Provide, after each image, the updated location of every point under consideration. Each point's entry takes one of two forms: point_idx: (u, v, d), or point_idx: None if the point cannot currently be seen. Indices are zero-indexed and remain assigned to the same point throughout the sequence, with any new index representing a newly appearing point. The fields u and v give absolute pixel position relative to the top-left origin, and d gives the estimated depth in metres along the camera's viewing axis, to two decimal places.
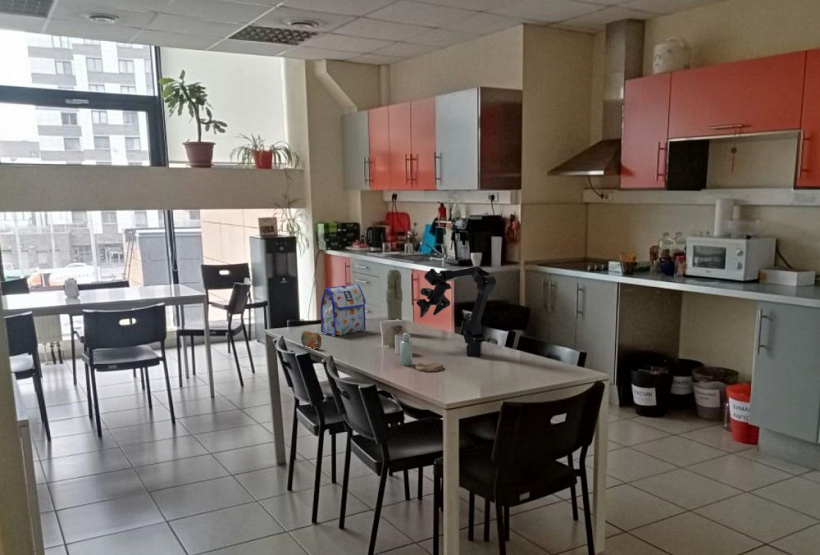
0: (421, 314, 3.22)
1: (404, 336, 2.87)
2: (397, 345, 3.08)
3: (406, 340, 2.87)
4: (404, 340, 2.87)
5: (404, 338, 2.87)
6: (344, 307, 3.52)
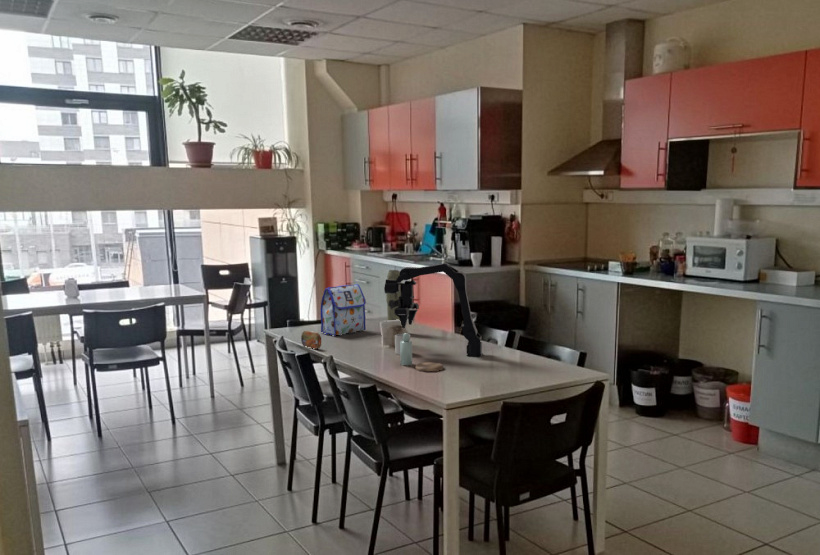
0: (403, 324, 3.04)
1: (404, 336, 2.87)
2: (397, 345, 3.08)
3: (406, 340, 2.87)
4: (404, 340, 2.87)
5: (404, 338, 2.87)
6: (344, 307, 3.52)
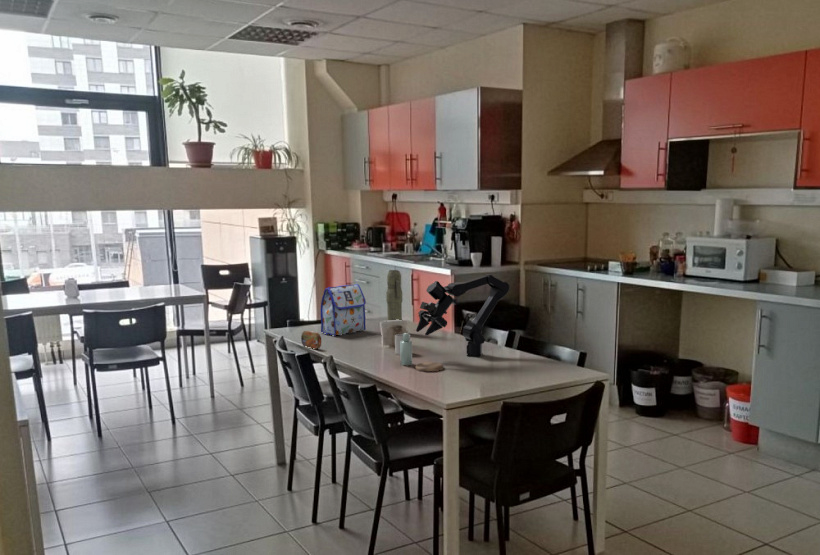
0: (429, 331, 2.87)
1: (404, 336, 2.87)
2: (397, 345, 3.08)
3: (406, 340, 2.87)
4: (404, 340, 2.87)
5: (404, 338, 2.87)
6: (344, 307, 3.52)
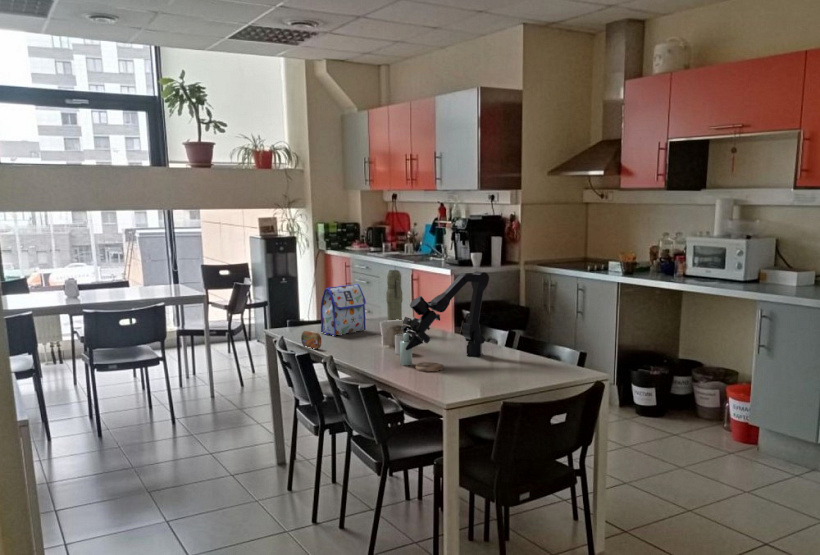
0: (410, 346, 2.85)
1: (404, 336, 2.87)
2: (397, 345, 3.08)
3: (406, 340, 2.87)
4: (404, 340, 2.87)
5: (404, 338, 2.87)
6: (344, 307, 3.52)
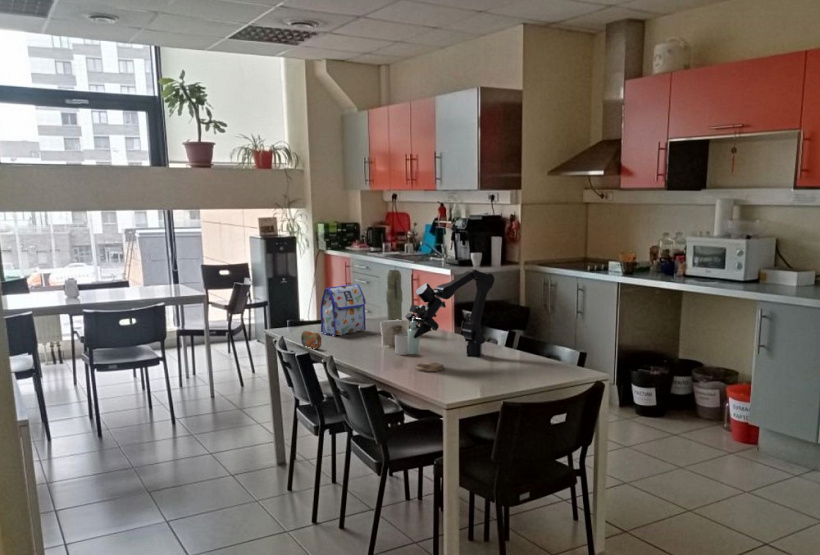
0: (418, 334, 2.81)
1: (411, 324, 2.83)
2: (397, 345, 3.08)
3: (414, 328, 2.83)
4: (412, 328, 2.83)
5: (411, 326, 2.83)
6: (344, 307, 3.52)
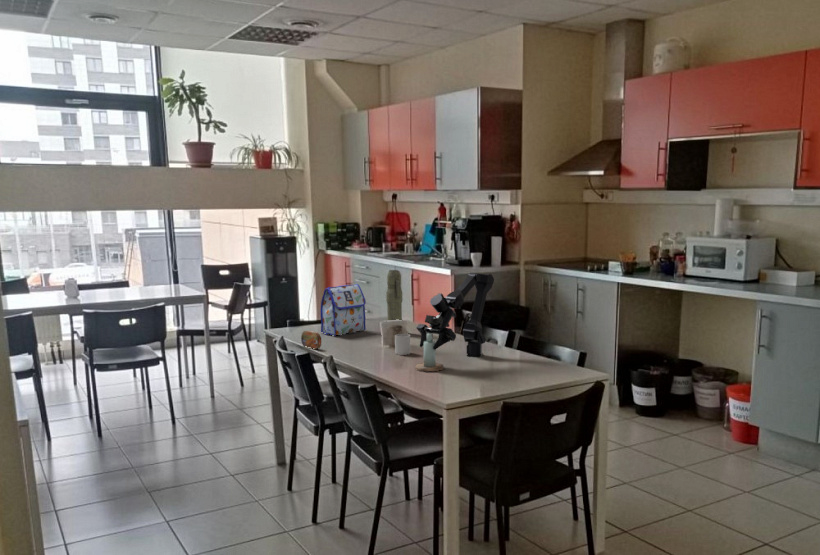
0: (437, 345, 2.77)
1: (429, 336, 2.79)
2: (397, 345, 3.08)
3: (431, 340, 2.79)
4: (428, 341, 2.79)
5: (429, 339, 2.79)
6: (344, 307, 3.52)
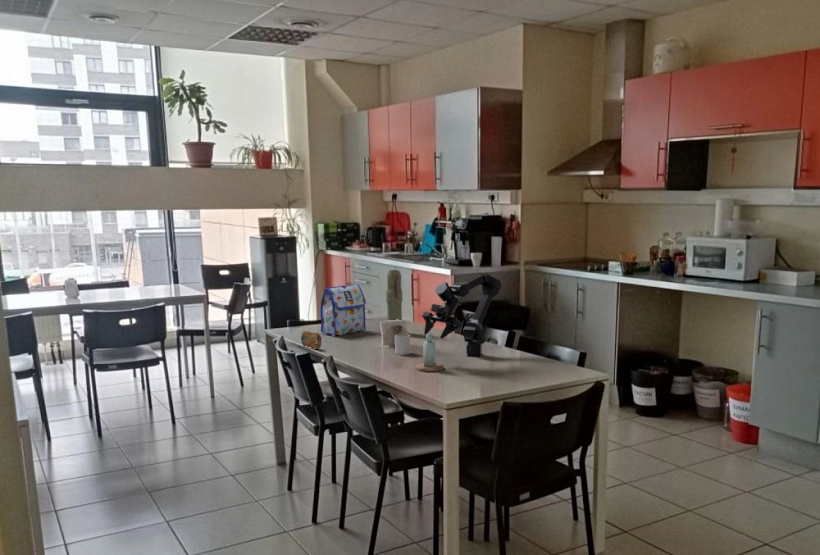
0: (444, 334, 2.80)
1: (428, 337, 2.79)
2: (397, 345, 3.08)
3: (430, 341, 2.79)
4: (428, 341, 2.79)
5: (428, 339, 2.79)
6: (344, 307, 3.52)
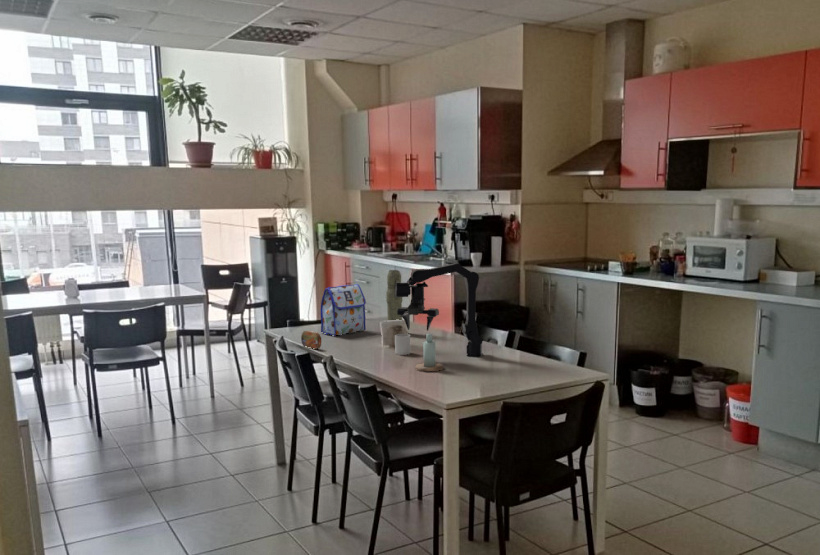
0: (429, 326, 2.99)
1: (428, 337, 2.79)
2: (397, 345, 3.08)
3: (430, 340, 2.79)
4: (428, 341, 2.79)
5: (428, 339, 2.79)
6: (344, 307, 3.52)
